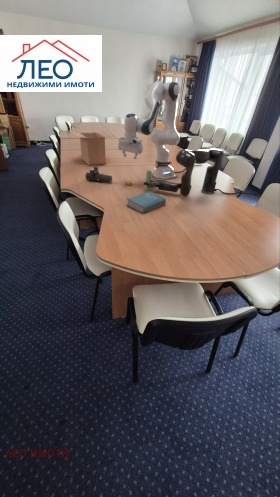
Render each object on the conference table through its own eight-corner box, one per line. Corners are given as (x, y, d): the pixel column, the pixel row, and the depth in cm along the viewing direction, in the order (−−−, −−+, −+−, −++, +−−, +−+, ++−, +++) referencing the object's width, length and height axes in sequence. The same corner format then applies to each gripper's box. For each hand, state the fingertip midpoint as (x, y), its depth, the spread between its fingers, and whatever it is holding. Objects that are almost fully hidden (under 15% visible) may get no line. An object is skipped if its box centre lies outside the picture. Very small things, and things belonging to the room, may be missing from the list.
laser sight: (109, 184, 185) (109, 172, 179) (84, 181, 187) (82, 169, 182) (112, 180, 192) (112, 169, 186) (88, 177, 195) (87, 166, 189)
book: (149, 197, 168) (149, 191, 165) (165, 204, 160) (166, 198, 157) (127, 205, 155) (127, 198, 152) (143, 213, 146) (143, 207, 143)
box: (116, 165, 229) (116, 136, 213) (83, 168, 214) (80, 137, 198) (102, 154, 259) (101, 128, 243) (71, 156, 244) (68, 129, 228)
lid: (132, 185, 188) (132, 182, 186) (126, 185, 186) (127, 183, 185) (130, 183, 191) (130, 180, 190) (125, 183, 190) (125, 180, 188)
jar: (145, 188, 183) (147, 169, 173) (150, 189, 182) (152, 170, 173) (144, 190, 180) (146, 170, 170) (149, 191, 179) (151, 171, 169)
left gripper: (116, 137, 169) (116, 156, 177) (139, 141, 162) (138, 161, 170) (121, 136, 173) (121, 154, 182) (143, 140, 166) (142, 159, 175)
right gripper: (168, 178, 177) (148, 174, 181) (163, 184, 166) (142, 180, 170) (167, 187, 181) (148, 183, 185) (162, 193, 170) (142, 189, 174)
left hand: (129, 157), depth 176 cm, fingers open, 8 cm apart
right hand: (145, 181), depth 178 cm, fingers open, 6 cm apart
